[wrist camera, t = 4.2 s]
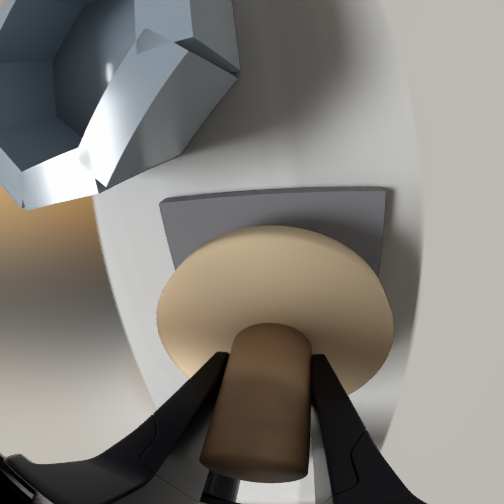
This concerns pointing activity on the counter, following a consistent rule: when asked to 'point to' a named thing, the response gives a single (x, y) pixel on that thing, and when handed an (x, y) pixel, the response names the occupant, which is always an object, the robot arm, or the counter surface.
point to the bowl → (105, 89)
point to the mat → (279, 217)
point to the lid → (272, 339)
